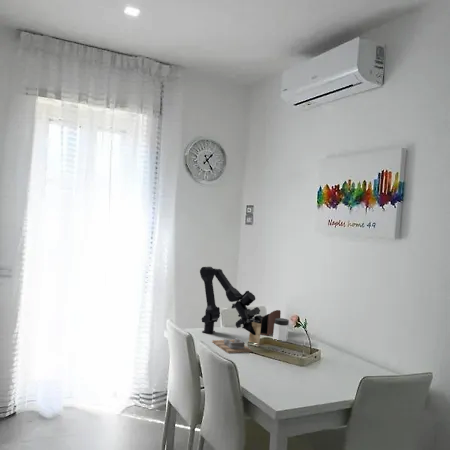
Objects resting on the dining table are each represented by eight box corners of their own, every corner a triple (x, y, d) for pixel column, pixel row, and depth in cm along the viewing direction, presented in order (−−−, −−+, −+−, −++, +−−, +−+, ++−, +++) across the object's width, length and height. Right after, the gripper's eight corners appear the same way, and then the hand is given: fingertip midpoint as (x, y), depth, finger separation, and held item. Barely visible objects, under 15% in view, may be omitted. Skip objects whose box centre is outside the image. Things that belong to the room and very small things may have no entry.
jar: (290, 340, 286) (292, 320, 286) (280, 342, 281) (282, 321, 280) (279, 337, 293) (281, 317, 292) (270, 338, 288) (271, 318, 287)
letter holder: (279, 330, 310) (281, 308, 310) (267, 336, 293) (269, 313, 292) (265, 327, 315) (267, 306, 315) (252, 333, 297) (254, 310, 297)
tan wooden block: (248, 344, 269) (250, 322, 268) (251, 344, 271) (253, 321, 271) (255, 347, 266) (257, 324, 265) (259, 346, 268) (261, 323, 268)
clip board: (212, 342, 267) (212, 334, 267) (234, 341, 273) (235, 334, 273) (227, 353, 249) (228, 345, 249) (251, 351, 255) (252, 344, 255)
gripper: (241, 303, 263) (256, 328, 256) (261, 301, 278) (275, 324, 271) (229, 315, 268) (243, 339, 262) (249, 312, 283) (263, 335, 276)
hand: (256, 334), depth 267 cm, fingers closed on tan wooden block, 3 cm apart
